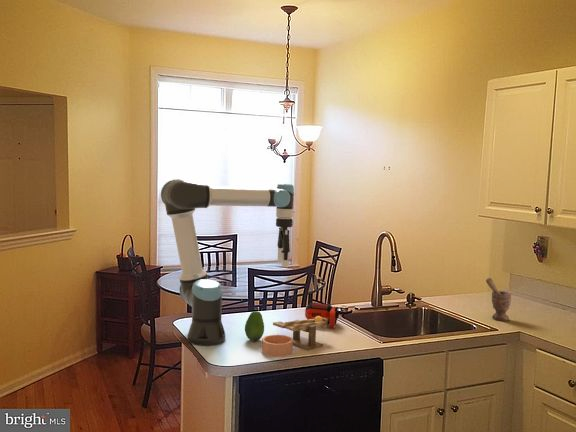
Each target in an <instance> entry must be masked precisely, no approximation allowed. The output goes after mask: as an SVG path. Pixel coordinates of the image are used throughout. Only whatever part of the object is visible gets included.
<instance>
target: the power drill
mask: <svg viewBox="0 0 576 432" xmlns="http://www.w3.org/2000/svg"><path fill="white" fill-rule="evenodd" d="M338 310H339V306H332V305H331V304H330V303H319V302H311V303H309V304H308V305H306V308H305V310H304V317H305V318H306V320H309V319H315V317H317V316H320V317H322V318H326V319H328V321H327V325H329V328H330V329H335V328H336V324H337V322H338V319H339V317H340V313H339V311H338Z"/></svg>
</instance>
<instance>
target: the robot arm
mask: <svg viewBox="0 0 576 432" xmlns="http://www.w3.org/2000/svg"><path fill="white" fill-rule="evenodd" d="M294 197H295V186H294V185H293V184H292V183H291V184H290V183H278V184H277V186H276V187H260V186H259V187H232V186H211V185H209V184H208V183H201V182H200V183H199V182H194V181H190V180H185V179H171V180H169V181H167V182H165V183H164V184H163V186H162V187H161V190H160V198H161V201H162V203H163V204H164V207H165V211H166V215H167V216H168V217H170V218H171V222H172V228H173V233H174V236H175V242H176V248H177V252H178V258H179V263H180V270H181V275H180V276H179V283H180V285H179V295H180V298H181V299H182V301H183V302H184V303H186V304H187V305H189V306H190V307H191V323H190V325H189V326H190V327H189V329H188V333H187V339H186V341H187V342H188V343H189V344H192V345H195V346H215V345H219V344H222V343H224V342H225V340H226V331H225V328H224V326H223V322H222V305H223V304H222V303H223V299H222V298H223V289H222V288H223V287H222V285H221V283H220V282H218V281H217V280H212V279H209V277H208V272H207V271H206V270H205V269H203V264H202V259H201V252H200V248H199V243H198V238H197V233H196V226H195V223H194V221H195V220H194V215H193V214H194V213H195V211H196V209H208V208H209V207H210V206H213V207H214V206H216V207H217V206H223V207H224V206H225V207H270V208H271V207H274V208H275V207H276V209H275V210H276V213H275V216H276V219H275V226H276V227H278V236H277V244H276V245H277V263H281V267H282V268H289V256H290V254H289V253H290V252H291V249H290V247H291V246H290V230H289V228H292V227H293V225H294V224H293V223H294V222H293V216H294V213H295V211H294V201H295V200H294Z"/></svg>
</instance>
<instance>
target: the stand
mask: <svg viewBox="0 0 576 432" xmlns="http://www.w3.org/2000/svg"><path fill="white" fill-rule="evenodd" d="M294 321H299V319H295V320H294ZM316 333H317V329H316V326H315V325H311V326H309V332H308V338H306V337H303V336H302V335H301V331H292V337H291V338H292V339H293V346H295V347H299V348H301V349H303V350H306V351H309V350H314V349H317V348H321V347H323V346H324V344H323V343H320V342H318V341H316V338H317V334H316Z"/></svg>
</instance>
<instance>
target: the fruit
mask: <svg viewBox="0 0 576 432" xmlns="http://www.w3.org/2000/svg"><path fill="white" fill-rule="evenodd" d="M244 331H245V335H246V338H247V339H248V340H249V341H252V342H257V341H259V340H261V339H262V337H263V335H264V332H265V323H264V319H263V315H262V314H261V312H260V311H257V310H255V311H251V313H250V314H249V316H248V318H247V319H246V322H245V325H244Z"/></svg>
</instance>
